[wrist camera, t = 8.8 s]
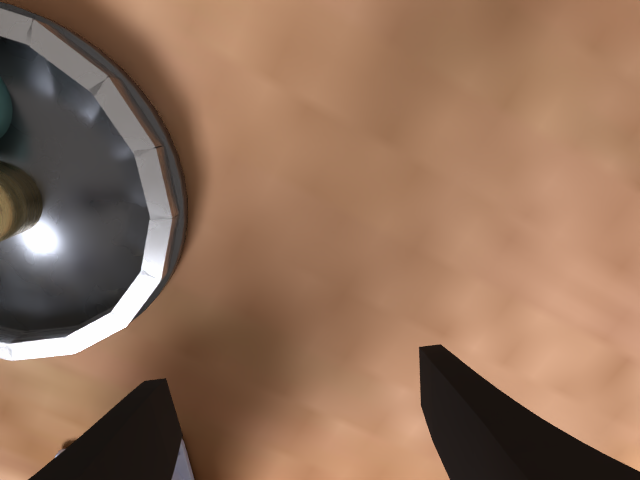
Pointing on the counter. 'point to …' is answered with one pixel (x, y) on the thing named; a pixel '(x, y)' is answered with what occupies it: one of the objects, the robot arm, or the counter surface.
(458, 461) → the robot arm
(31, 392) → the counter surface
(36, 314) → the round metal bowl
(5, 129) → the teal mushroom knob
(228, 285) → the counter surface
